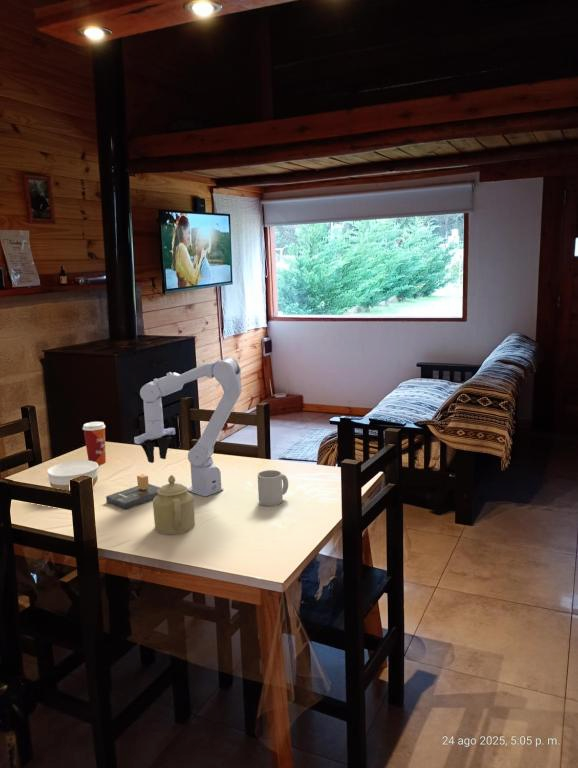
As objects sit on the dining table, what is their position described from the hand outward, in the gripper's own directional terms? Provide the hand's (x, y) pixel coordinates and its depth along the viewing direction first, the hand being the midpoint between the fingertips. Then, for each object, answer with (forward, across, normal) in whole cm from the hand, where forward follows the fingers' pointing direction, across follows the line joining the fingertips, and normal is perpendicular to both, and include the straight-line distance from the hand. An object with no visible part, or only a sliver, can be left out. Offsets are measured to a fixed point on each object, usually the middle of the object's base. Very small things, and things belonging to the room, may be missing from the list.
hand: (157, 460), depth 205 cm
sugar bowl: (+10, +16, +30) cm, 35 cm away
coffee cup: (+10, -4, -43) cm, 44 cm away
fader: (+8, +6, 0) cm, 10 cm away
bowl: (+10, +18, -22) cm, 30 cm away
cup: (+10, -16, +37) cm, 41 cm away
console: (+10, +10, +1) cm, 14 cm away
